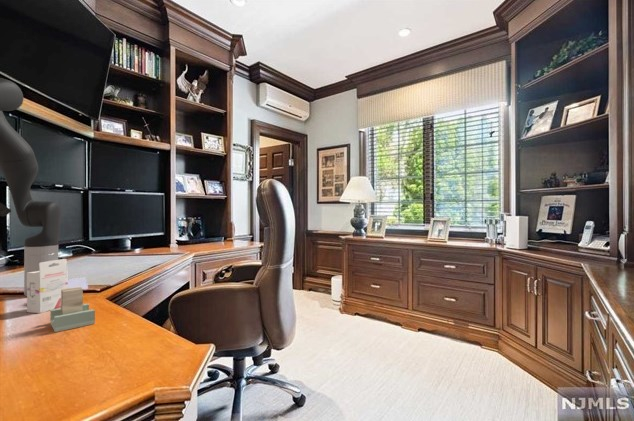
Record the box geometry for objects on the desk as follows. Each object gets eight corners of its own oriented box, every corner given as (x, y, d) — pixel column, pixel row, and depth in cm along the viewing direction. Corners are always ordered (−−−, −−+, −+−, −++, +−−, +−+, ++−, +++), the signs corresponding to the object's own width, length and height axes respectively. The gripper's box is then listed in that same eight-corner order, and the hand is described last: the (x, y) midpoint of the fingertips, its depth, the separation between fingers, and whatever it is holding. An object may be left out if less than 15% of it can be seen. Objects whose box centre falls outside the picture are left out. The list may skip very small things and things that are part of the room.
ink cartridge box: (55, 304, 99) (56, 257, 99) (68, 305, 98) (68, 258, 98) (25, 312, 90) (25, 262, 90) (39, 313, 89) (39, 262, 89)
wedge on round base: (83, 293, 111) (34, 301, 102) (83, 275, 112) (35, 280, 102) (88, 298, 105) (36, 306, 96) (88, 278, 105) (36, 285, 96)
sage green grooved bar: (50, 323, 81) (50, 309, 81) (87, 315, 87) (87, 303, 87) (54, 332, 75) (54, 317, 75) (94, 323, 81) (94, 310, 81)
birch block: (60, 319, 81) (61, 289, 81) (80, 316, 84) (80, 286, 84) (62, 323, 78) (63, 291, 78) (82, 319, 81) (82, 289, 81)
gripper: (-50, 148, 66) (23, 203, 75) (-44, 157, 76) (20, 204, 84) (-91, 170, 62) (-9, 225, 71) (-79, 176, 72) (-8, 224, 81)
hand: (7, 214), depth 77 cm, fingers open, 8 cm apart
